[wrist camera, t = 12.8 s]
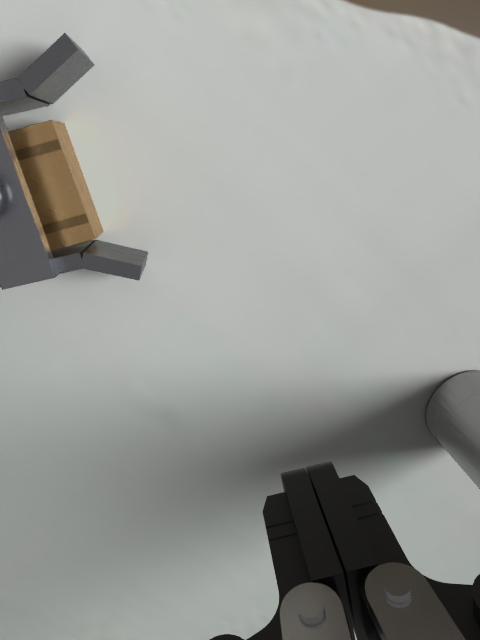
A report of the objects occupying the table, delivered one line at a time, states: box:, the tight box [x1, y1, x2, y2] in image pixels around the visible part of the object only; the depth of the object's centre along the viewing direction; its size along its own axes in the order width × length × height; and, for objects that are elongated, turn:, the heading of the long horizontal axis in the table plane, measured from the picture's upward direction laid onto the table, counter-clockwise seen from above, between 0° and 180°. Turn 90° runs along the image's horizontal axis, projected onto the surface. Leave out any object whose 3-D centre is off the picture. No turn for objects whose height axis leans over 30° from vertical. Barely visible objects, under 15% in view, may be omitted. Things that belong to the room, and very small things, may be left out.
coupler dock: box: [0, 33, 148, 290], centre depth 34 cm, size 16×17×9 cm
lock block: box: [8, 120, 104, 251], centre depth 37 cm, size 8×9×4 cm
